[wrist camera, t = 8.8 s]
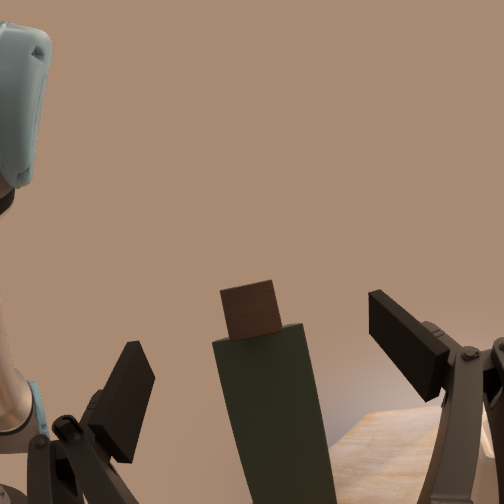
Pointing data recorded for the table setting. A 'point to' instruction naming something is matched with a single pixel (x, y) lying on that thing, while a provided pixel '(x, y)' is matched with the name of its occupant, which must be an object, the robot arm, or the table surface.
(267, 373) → the stand
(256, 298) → the rod
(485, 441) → the cup
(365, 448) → the table surface
